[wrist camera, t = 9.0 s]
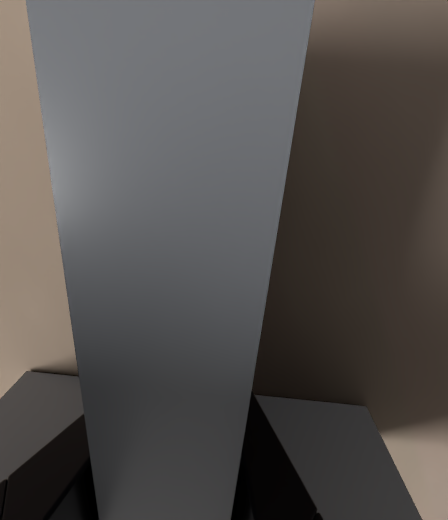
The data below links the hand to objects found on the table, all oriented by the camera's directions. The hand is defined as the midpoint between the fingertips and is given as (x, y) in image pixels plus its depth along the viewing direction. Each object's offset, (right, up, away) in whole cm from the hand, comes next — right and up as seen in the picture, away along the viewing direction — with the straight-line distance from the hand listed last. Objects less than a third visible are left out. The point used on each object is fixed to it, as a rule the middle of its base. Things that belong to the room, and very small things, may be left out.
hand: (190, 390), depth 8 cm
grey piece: (0, +3, 0) cm, 3 cm away
